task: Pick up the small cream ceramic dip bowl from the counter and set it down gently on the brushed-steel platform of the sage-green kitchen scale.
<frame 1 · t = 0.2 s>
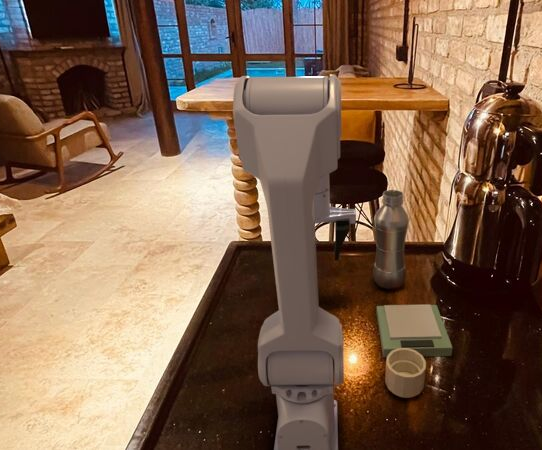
hand: (315, 258, 74), 10 cm above the kitchen counter, tool pointing down, fingers open, 7 cm apart
scale: (411, 333, 70), on the kitchen counter
metal water bottle: (388, 284, 84), on the kitchen counter
dip bowl: (404, 384, 60), on the kitchen counter
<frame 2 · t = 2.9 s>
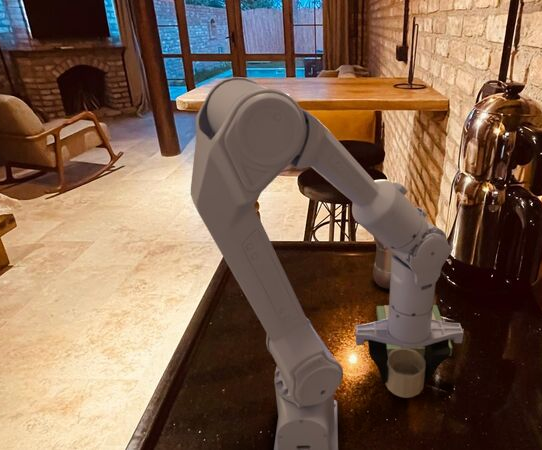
hand: (404, 377, 60), 1 cm above the kitchen counter, tool pointing down, fingers closed on dip bowl, 6 cm apart
dip bowl: (403, 384, 60), on the kitchen counter, touching gripper
everything else where it was.
when the fingers open (4 cm above the kitchen counter, at t = 7.2 s): dip bowl stays where it is, resting on scale.
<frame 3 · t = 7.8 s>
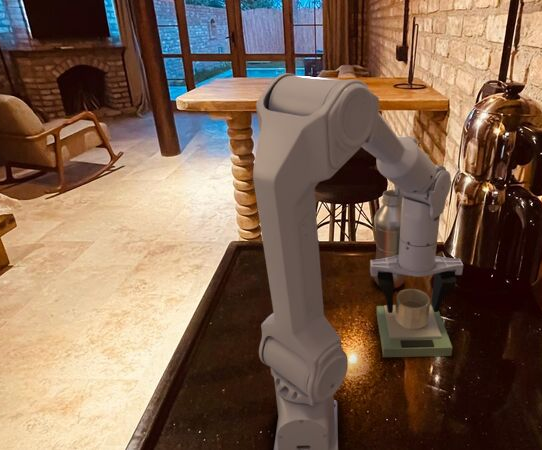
hand: (412, 308, 69), 5 cm above the kitchen counter, tool pointing down, fingers open, 7 cm apart
dip bowl: (411, 319, 70), point 2 cm above the kitchen counter, touching scale
everything else where it was.
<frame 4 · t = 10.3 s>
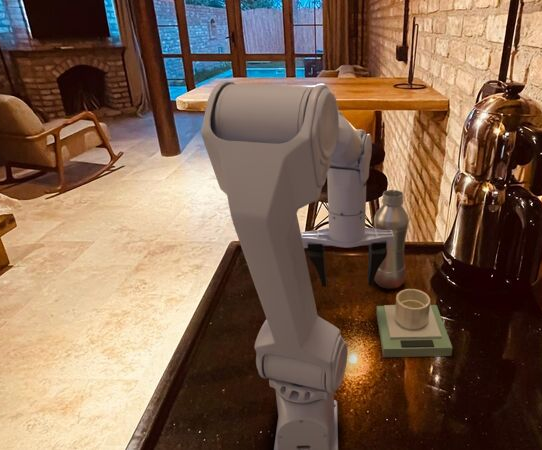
hand: (347, 282, 68), 9 cm above the kitchen counter, tool pointing down, fingers open, 7 cm apart
nothing on the kitchen counter moved.
at the end: dip bowl inside the target area on the scale (0.0 cm from its centre), point 2.3 cm above the scale's base; dip bowl tilted 0°; the gripper is holding nothing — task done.
